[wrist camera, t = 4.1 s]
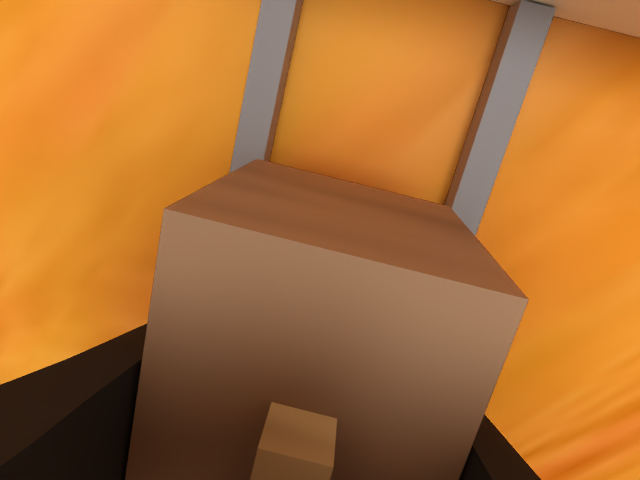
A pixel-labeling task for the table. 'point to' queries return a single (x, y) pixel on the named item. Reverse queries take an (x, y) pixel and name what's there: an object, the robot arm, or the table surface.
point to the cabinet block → (317, 334)
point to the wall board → (493, 106)
